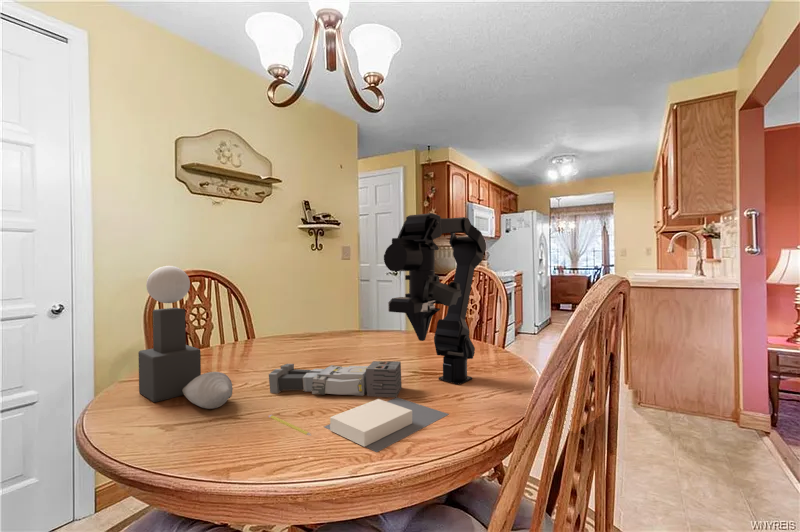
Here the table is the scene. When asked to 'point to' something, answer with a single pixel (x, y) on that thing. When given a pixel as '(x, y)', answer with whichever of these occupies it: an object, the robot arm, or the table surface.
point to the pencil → (290, 425)
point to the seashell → (209, 390)
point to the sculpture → (168, 340)
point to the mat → (420, 419)
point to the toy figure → (341, 379)
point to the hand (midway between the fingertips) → (422, 340)
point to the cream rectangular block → (370, 421)
